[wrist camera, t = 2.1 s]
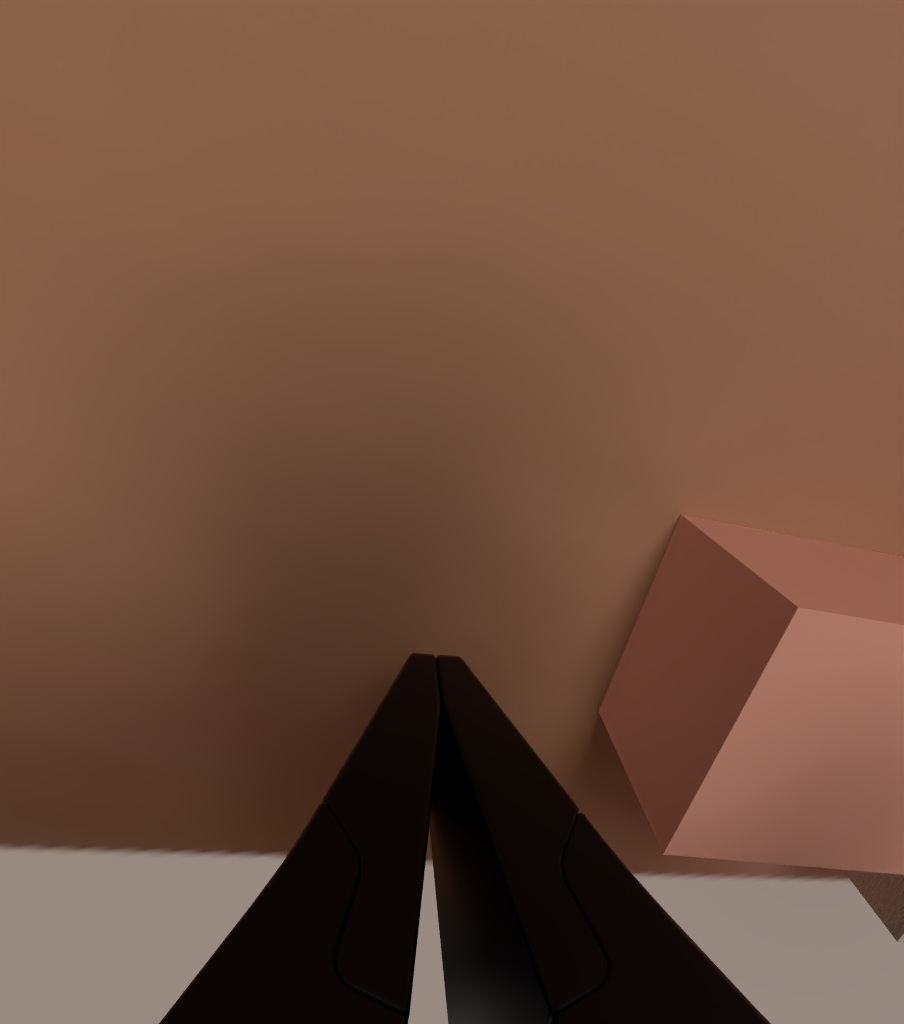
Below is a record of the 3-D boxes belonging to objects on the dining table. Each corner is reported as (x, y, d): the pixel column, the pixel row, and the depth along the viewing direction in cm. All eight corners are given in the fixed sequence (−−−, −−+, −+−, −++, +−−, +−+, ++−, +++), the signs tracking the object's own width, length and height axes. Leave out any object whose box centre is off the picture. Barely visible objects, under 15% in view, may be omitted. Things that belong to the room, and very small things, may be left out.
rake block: (966, 565, 11) (1194, 674, 8) (852, 737, 13) (999, 882, 10) (675, 509, 10) (798, 607, 7) (595, 704, 12) (663, 854, 9)
